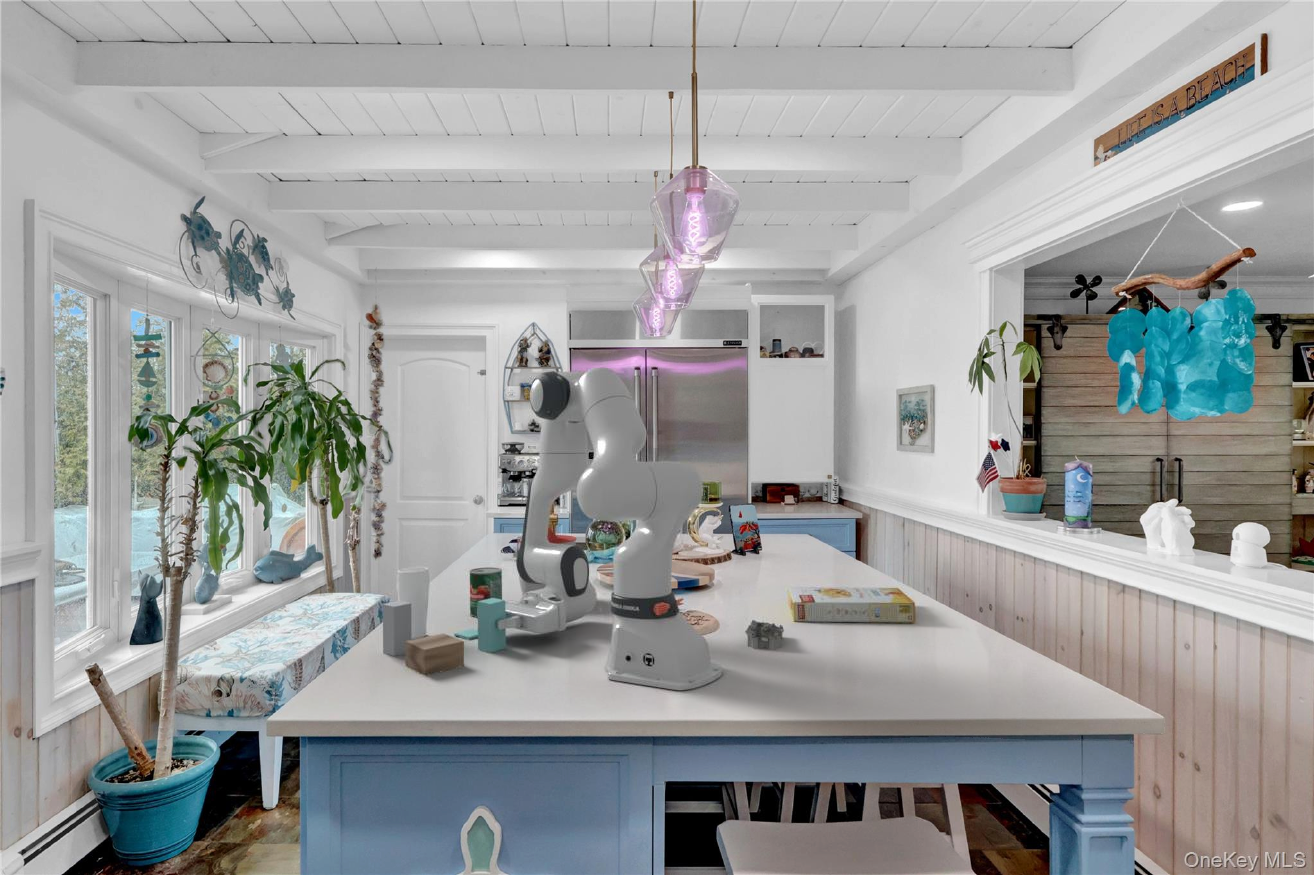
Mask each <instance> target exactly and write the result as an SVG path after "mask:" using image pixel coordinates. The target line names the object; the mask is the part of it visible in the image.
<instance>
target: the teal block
mask: <svg viewBox="0 0 1314 875" xmlns="http://www.w3.org/2000/svg"><path fill="white" fill-rule="evenodd" d="M505 600H506V599H502V600H501V599H496V598H490V599H486V600H481V601H478V618H477V630H478V637H477V650H478V649H480V650H479V651H482V650H485V651H487V652H486V653H489V652H492V653H494V652H498V651H497V650H499V651H502V650H505V649H506V648H507V639H506V637H507V636H506V635H507V632H506V631H507V628H505V629H496V628H495V621H496V620H499V619H506V609H505ZM501 649H502V650H501ZM485 651H484V652H485Z"/></svg>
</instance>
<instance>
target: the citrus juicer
mask: <svg viewBox="0 0 1314 875" xmlns="http://www.w3.org/2000/svg"><path fill="white" fill-rule="evenodd" d="M547 538H548V541H549V543H554V544H565V545H572V546H577V545H576V540H577V536H576V537H575V536H572V535H566V534H565V535H564V534H563V535H562V534H560V535H559V534H555V531H553V530H552V529H551V528H550V527H548V534H547ZM516 542H517V544H516V545H517V549H516V550H517V551H515V552H514V553H512V554H513V555H512V558H517V554H518V551H519V548H520V545H521V539H517V540H516ZM518 581H519V586H520V590H521V594H522V596H523V595H524V594H525V593H527V592H530V591H535V590H539V589H543V588H545V587H546V584H530V583H527V582H525V581H524V580H523V579H522V578H521V577H520V575H519V574H518Z"/></svg>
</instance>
